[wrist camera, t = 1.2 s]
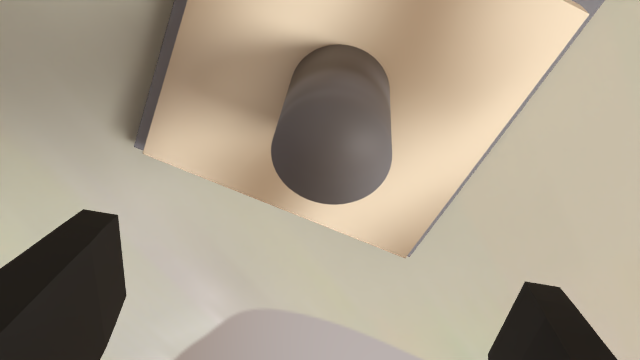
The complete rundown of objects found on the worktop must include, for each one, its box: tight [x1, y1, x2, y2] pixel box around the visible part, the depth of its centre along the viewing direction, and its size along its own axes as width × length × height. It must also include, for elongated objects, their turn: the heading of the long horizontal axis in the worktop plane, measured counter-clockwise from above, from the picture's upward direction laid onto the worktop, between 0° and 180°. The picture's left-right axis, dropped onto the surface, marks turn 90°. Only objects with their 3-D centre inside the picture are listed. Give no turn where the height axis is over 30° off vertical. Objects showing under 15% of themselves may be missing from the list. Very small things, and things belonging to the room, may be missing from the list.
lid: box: [143, 0, 589, 258], centre depth 15 cm, size 10×10×4 cm
